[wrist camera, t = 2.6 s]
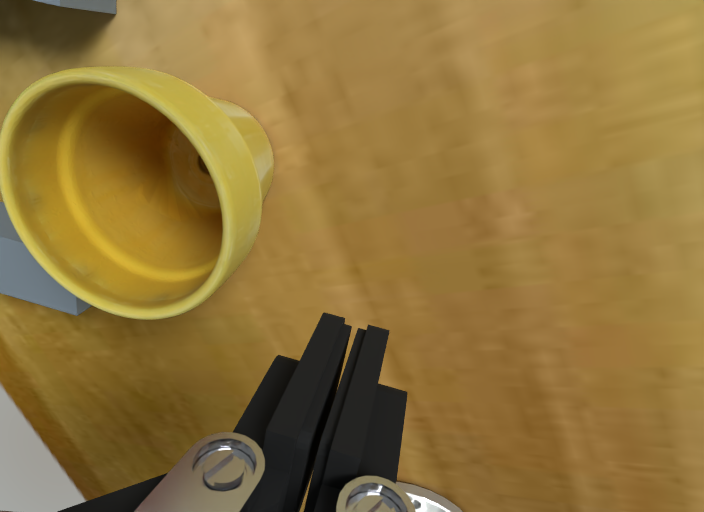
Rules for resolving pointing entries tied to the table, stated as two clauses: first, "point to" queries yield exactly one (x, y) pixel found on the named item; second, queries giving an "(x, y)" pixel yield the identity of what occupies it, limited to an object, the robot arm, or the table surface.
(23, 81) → the table surface
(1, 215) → the bar
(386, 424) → the robot arm
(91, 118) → the plant pot
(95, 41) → the table surface
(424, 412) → the table surface
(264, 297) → the table surface
